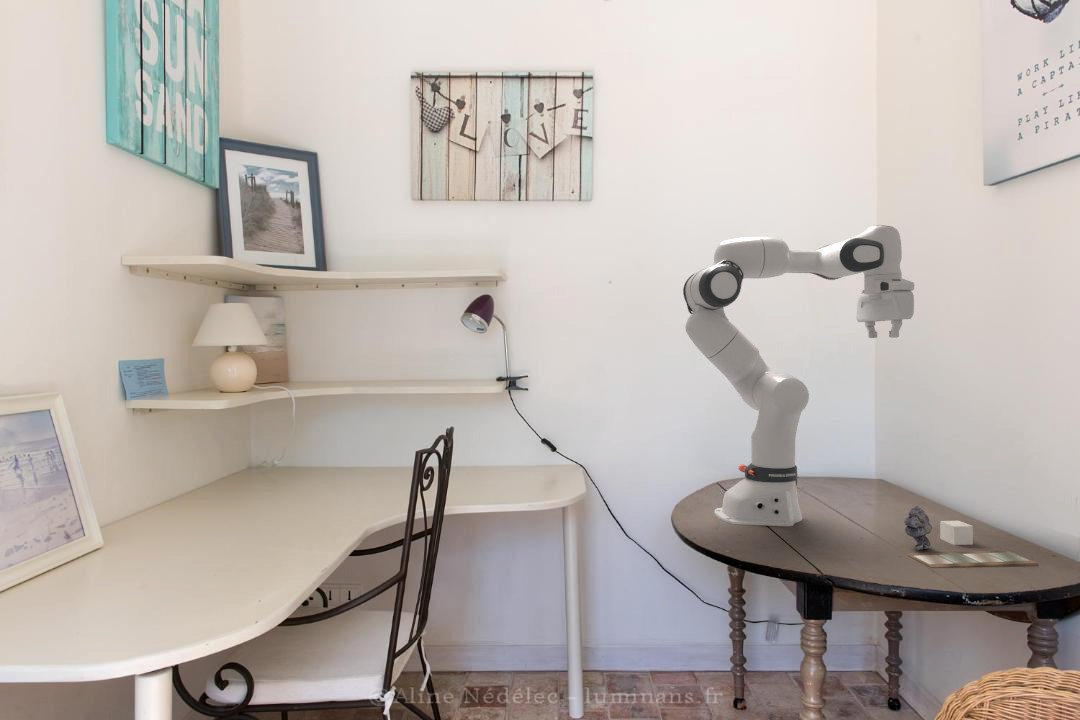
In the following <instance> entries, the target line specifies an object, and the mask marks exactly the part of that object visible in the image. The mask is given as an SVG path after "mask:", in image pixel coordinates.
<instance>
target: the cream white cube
mask: <svg viewBox="0 0 1080 720" xmlns="http://www.w3.org/2000/svg"><path fill="white" fill-rule="evenodd" d="M939 526H940V527H939V531H940V532H939V537H940V540H942V541H944V542H947V543H949V544H951V545H953V546H961V545H963V546H966V545H967V546H969V545H971V546H973V545H974V526H973V525H972V524H969V523H966V522H963V521H960V520H940V521H939Z"/></svg>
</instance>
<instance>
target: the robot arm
mask: <svg viewBox="0 0 1080 720" xmlns="http://www.w3.org/2000/svg"><path fill="white" fill-rule="evenodd" d="M901 262H902V240H901V235H900V232H899V230H898V229H897V228H895V227H894V226H890V225H886V224H885V225H883V224H882V225H873V226H869V227H868V228H867V229H866V230H865V231H863V232H860V233H858V234H857V235H855V236H853V237H850V238H847V239H845V240H842V241H838V242H835V243H832V244H831V243H830V244H827V245H826V244H825V245H824V246H822V247H819V248H818V249H816V250H792V249H789V245H788V244H787V242H785V241H784V240H783V239H781V238H778V237H777V238H776V237H771V236H746V237H738V238H731V239H727V240H723V241H722V242H721V243H719V244H718V246H717V247H716V249H715V252H714V255H713V264H712V266H710V267H707V268H702V269H701V270H699V271H697V272H694V273H693V274H691V275H690V276H689V277H688V278H687V279H686V281H685V283H684V286H683V289H682V294H683V299H684V301H685V303H686V306H687V311H688V312H689V314H690V316H689V317H688V318H687V321H686V322H685V332H686V334H687V336H688V337H689V339H690V341H691V342H692V343H693V345H695V347H696V348H697V349H698V350H699V351H700V352H701V353H702V355H704V357H705V358H706V359H707V360H708V361H709V362H710V363H712V365H714V367H716V369H718V371H720V372H721V374H723V376H724V377H725V378H726V379H727V380H728V381H729V382H730V384H731V385H732V386H733V388H734V390H735V391H736V392H737V393H738V394H739V396H740V397H741V398H742V400H743V401H744V403H745V404H746V405H748V406H749V407H750V408H751V409H754V410H755V411H758V415H757V420H756V425H755V428H754V430H753V432H752V433H751V439H750V440H751V442H750V443H751V445H750V446H751V462H750V464H749V465H746V464H742V463H740V464H739V465H738V467H737V469H738V470H739V472H742V473H744V478H742V479H741V480H740V481H739V482H737V483H735V485H732V487H730V488H729V489H727V490H726V491H725V493H724V495H723V498H722V507H717V508H715V509H714V515H715V516H716V517H717V518H719V519H720V520H721V521H723V522H725V523H729V524H731V525H740V526H741V525H744V526H745V525H747V526H748V525H749V526H770V527H771V526H776V527H793V526H794V525H795V524H797V523H799V522H801V521H803V516H802V513H801V509H800V505H799V500H798V499H799V498H798V493H797V486H798V466H797V465H796V437H797V431H798V426H799V423H800V418H801V414H802V412H803V410H804V409H806V407H807V406H808V404H809V403H808V402H809V400H810V394H809V390H808V388H807V386H806V385H805V383H804V382H803V381H801V380H800V379H798V378H797V377H795V376H793V375H791V374H787V373H778V372H775V371H774V370H772V369H771V368H770V367H769V366H768V364H767V363H766V362H765V361H764V359H763V358H762V356H761V355H760V351H759V349H758V348H757V346H756V345H755V344H754V343H752V341H750V340H749V339H748V337H746V336H745V334H743V333H742V332H741V331H740V330H739V329H738V328H737V327H736V326H735V325H734V324H733V323H732V322H731V321H730V320H729V319H728V317H727V315H726V312H725V310H724V308H726V307H727V306H730V305H731V304H733V303H734V302H735V301H736V300H737V299H738V297H739V296H740V293H741V290H742V284H743V280H744V279H753V280H754V279H768V278H775V277H779V276H783V275H784V274H788V273H790V274H813V275H815V276H817V277H820V278H822V279H824V280H829V281H835V280H838V279H841V278H843V277H844V278H845V277H848V276H853V275H857V274H862V273H863V276H864V277H863V280H864V283H863V284H864V286H863V287H864V289H863V290H862V291H861V293H860V294H859V296H858V299H857V303H856V311H855V312H856V313H855V317H856V321H857V322H858V323H864V325H865V329H866V330H867V338H868V339H877V338H878V331H876V328H875V326H876V322H887V321H890V325H891V329H890V330H889V331H888V337H889V338H892V339H893V338H896V339H897V338H899V336H900V330H901V328H902V325H903V320H912V318H913V315H914V312H915V296H914V293H913V291H914V290H915V283H914V281H911V280H908V279H905V278H902V277H903V273H902V270H901Z"/></svg>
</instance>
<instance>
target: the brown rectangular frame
mask: <svg viewBox="0 0 1080 720" xmlns="http://www.w3.org/2000/svg"><path fill="white" fill-rule="evenodd" d="M905 555H906V556H907V557H909V558H911V559H913V560H915V561H917V562H919V563H921V564H923V565H925V566H926V567H929V568H930V569H942V568H943V569H944V568H945V569H946V568H948V569H949V568H953V567H954V568H987V567H988V568H989V567H990V568H991V567H1025V566H1026V567H1028V566H1032V567H1033V566H1037V567H1038V566H1039V563H1038V562H1036V561H1034V560H1032V559H1029V558H1028V557H1024V556H1022V555H1019V554H1017V553H1015V552H1012V551H1010V550H1007V549H1004V550H1003V549H1002V550H1001V549H1000V550H977V551H976V550H975V551H973V550H972V551H949V552H948V551H947V552H945V551H943V552H921V553H916V552H915V553H906V554H905ZM954 568H953V569H954Z"/></svg>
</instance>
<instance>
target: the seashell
mask: <svg viewBox="0 0 1080 720" xmlns="http://www.w3.org/2000/svg"><path fill="white" fill-rule="evenodd" d="M904 525H905V528H904V532H905V533H906V535H907V536H908V537H912V538H913V540H915V542H916V543H917V544H916V545H915V547H914V549H916V550H917V551H921V550H924V549H925V550H927V549H929V548H930V547H931V542H930V539H929V538H928V537H927V535H929V534H930V533H931V531H932V530H933V527H932V525H931V524H930V518H929V516H928V515H927V514H926V513H925V511H924V510H923V509H922V508H921V507H919V506H918V505H916V506H914V507H911V508H910V509H909V512H908V515H907V517H906V518H905V519H904Z"/></svg>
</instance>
